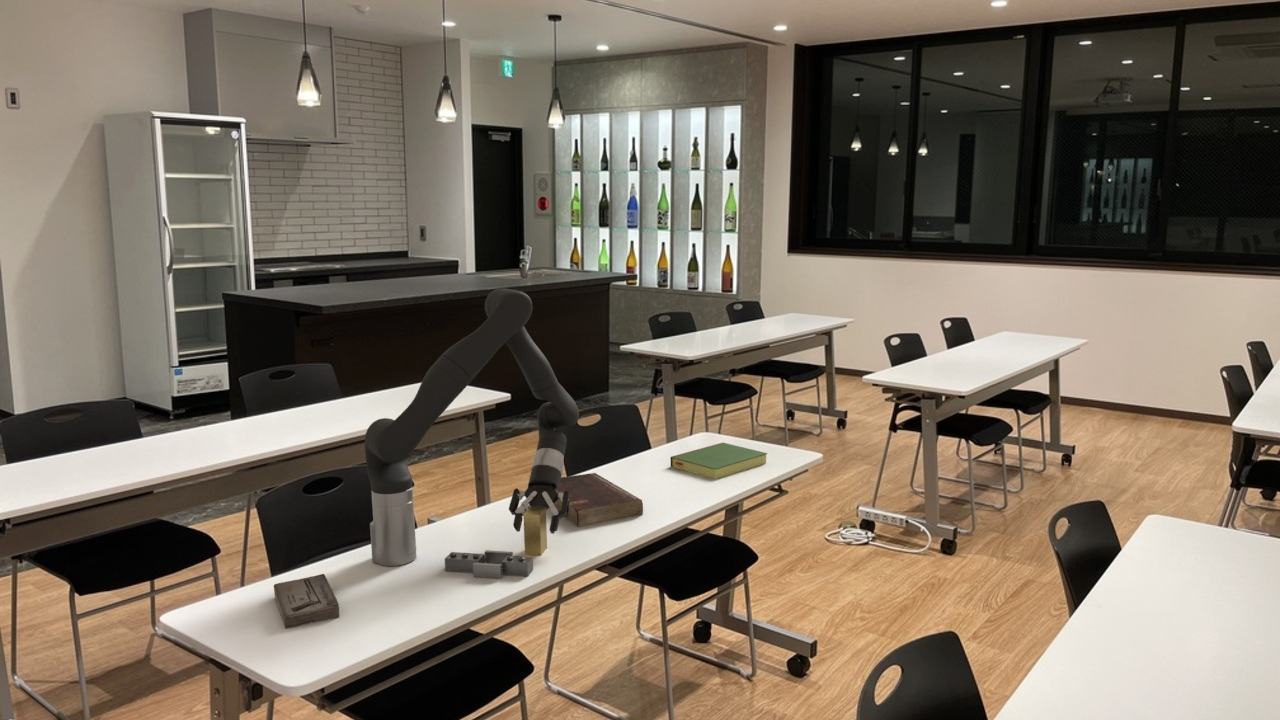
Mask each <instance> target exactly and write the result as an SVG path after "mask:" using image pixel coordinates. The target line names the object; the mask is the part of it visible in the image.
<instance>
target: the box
mask: <svg viewBox="0 0 1280 720" xmlns="http://www.w3.org/2000/svg"><path fill="white" fill-rule="evenodd" d="M273 590H274V591H273V592H274V598H275V601H276V605H277V608H278V612H279V614H280V616H281V620H282V624H283V627H284V629H290V628H297V627H300V626H304V625H309V624H312V623H313V624H314V623H319V622H320V623H321V622H324V621H328V620H332V619H333V620H334V619H338V618H340V605H339V603H338V600H337V598H336V596H335V594H334V591H333V589H332V588H331V586H330V583H329V581H328V579H327V577H326V574H325V573H322V574H321V573H320V574H317V575H313V576H308V577H302V578H299V579H293V580H288V581H284V582H283V581H282V582H279V583H275V584H273Z"/></svg>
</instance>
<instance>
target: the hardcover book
mask: <svg viewBox="0 0 1280 720" xmlns="http://www.w3.org/2000/svg"><path fill="white" fill-rule="evenodd" d="M767 455H768V453H767V452H764V451H760V450H756V449H750V448H747V447H743V446H739V445H734V444H731V443H727V442H720V443H716V444H713V445H712V444H711V445H708V446H705V447H701V448H698V449H693V450H691V451H686V452H683V453H680V454H675V455H672V456H670V468H675V469H678V470H682V471H685V472H689V473H692V474H696V475H700V476H703V477H707V478H710V479H714V480H717V479H719V478H722V477H725V476H729V475H733V474H735V473H739V472H743V471H745V470H749V469H751V468H754V467H759V466H761V465H765V464H767Z"/></svg>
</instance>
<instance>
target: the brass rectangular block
mask: <svg viewBox="0 0 1280 720" xmlns="http://www.w3.org/2000/svg"><path fill="white" fill-rule="evenodd" d="M522 518H523V542H524V544H523V545H524V556H542V555H543V554H544V553H545V551H546V550H547V549H548V534H547V532H548V530H547V510H546V508H535V507H530V508H529V509H528V510H527V511H526V512H525V513H524V514H523V516H522Z"/></svg>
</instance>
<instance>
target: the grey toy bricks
mask: <svg viewBox="0 0 1280 720" xmlns="http://www.w3.org/2000/svg"><path fill="white" fill-rule="evenodd" d="M444 569H445V570H444V572H455V573H469V574H472V576H473V578H480V579H481V578H483V579H496V580H497V579H498V580H500V579H502V578H503V576H512V577H513V576H515V577H516V576H517V577H529V576H530V575H531V573H532V572H533V571H534V557H533V556H527V555H524V556H523V555H514V553H513V551H507V550H506V551H505V550H501V551H500V550H489V549H488V550H485V551H484V553H477V552H475V553H474V552H473V553H472V552H458V551H457V552H456V551H451V552H449V554H448V555H447V556H446V557H445V558H444Z"/></svg>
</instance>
